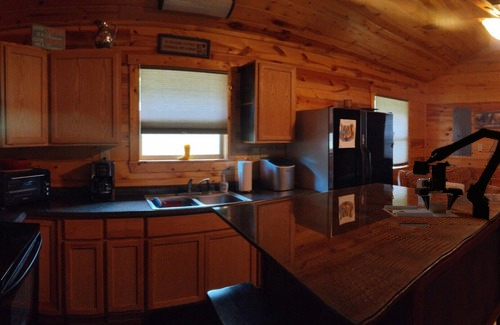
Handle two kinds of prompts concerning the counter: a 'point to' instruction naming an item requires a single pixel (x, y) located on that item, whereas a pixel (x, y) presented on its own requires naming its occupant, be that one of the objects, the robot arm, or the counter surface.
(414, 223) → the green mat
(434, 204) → the walnut block
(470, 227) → the counter surface
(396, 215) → the board
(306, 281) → the counter surface
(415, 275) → the counter surface
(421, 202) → the beer glass
